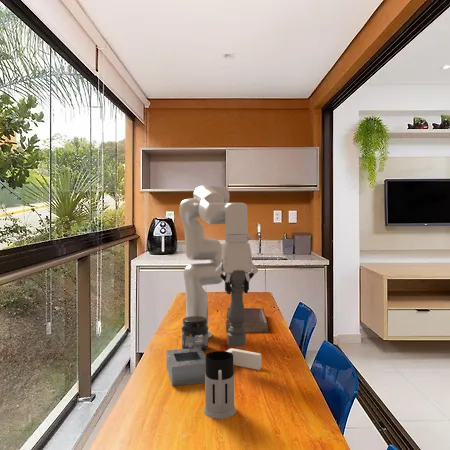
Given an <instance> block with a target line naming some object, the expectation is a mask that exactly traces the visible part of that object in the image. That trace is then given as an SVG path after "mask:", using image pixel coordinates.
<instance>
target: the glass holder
mask: <svg viewBox="0 0 450 450" xmlns="http://www.w3.org/2000/svg"><path fill="white" fill-rule="evenodd" d="M226 351H227V350H216V351H215V350H214V351H210V352H208V353H206V354H205V356H206V371H205V383H204V391H205V392H204V393H205V394H204V395H205V396H204V397H205V398H204V399H205V400H204V401H205V402H204V403H205V404H204V409H203V413H204V415H205V416H207V417H208V418H212V419H217V420H221V419H227V418H231V417H233V416H234V415H235V414H236V413H237V409H236V406H235V370H234V365H233V354H232V353H230V352H226Z"/></svg>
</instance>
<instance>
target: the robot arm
mask: <svg viewBox="0 0 450 450" xmlns="http://www.w3.org/2000/svg"><path fill="white" fill-rule="evenodd" d="M179 218H180V220H181V222H182V227H183V229H184V230H183V231H184V242H185V245H184V246H185V255H186V257H187V259H188V260H189V261H210V262H205V263H204V262H202V263H201V262H200V263H191V264H188V265H187V266H185V267H184V269H183V279H184V285H185V303H186V304H185V307H186V308H185V310H186V313H185V315H186V317H190V316H201V317H205V318H207V324H206V325H207V326H208V327H209V296H208V292H207V291H206V290H205V289H204V287H203V286H207V285H208V286H210V285H220V284H221V283H222V282H223V281H224V291H225V292H226V294H227V295H231V283H230V280H229V279H230V276H231V274H232V273H233V271H245V276H246V280H245V282H244V284H243V287H244V288H245V290H244V291H243V293H244V294H248V291H250V281H251V279H253V277H254V276H255V275H256V274H257V273H258V272H259V269H258V267H256V265H255V264H254V263H253V257H252V248H251V245H250V243H249V241H250V240H252V238H253V237H252V235H249V233H248V231H249V230H248V226H249V225H248V204H246V203H244V202H230V191H229V189H228V188H227V186H225V185H219V184H202V185H199V186H197V187H196V188H195V190H194V191H193V197H192V198H191V197H190V198H186V199H183V200H182V201H181V202H180V204H179ZM197 218H198V219H197ZM199 218H200V219H201V220H202V221H203V222H204V223H207V224H209V225H224V233H225V235H224V237H225V238H224V239H225V241H224V243H222V245H221V242H220V241H219V239H217V238H206V237H205V230H204V226H203V224H202V223H201V222H200V221H199ZM186 317H185V318H186ZM212 336H213V333H212V331H210V330H208V339H210V338H211V337H212Z"/></svg>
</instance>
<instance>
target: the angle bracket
mask: <svg viewBox="0 0 450 450" xmlns="http://www.w3.org/2000/svg"><path fill="white" fill-rule="evenodd" d="M225 351H226V352H230V353H232V354H233V366H237V367H242V368H247V369H248V368H249V369H252V370H258V371H260V370H261V369H262V353H259V352H254V351H248V350H245V349H244V350H243V349H239V348H228V349H227V350H225Z"/></svg>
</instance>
